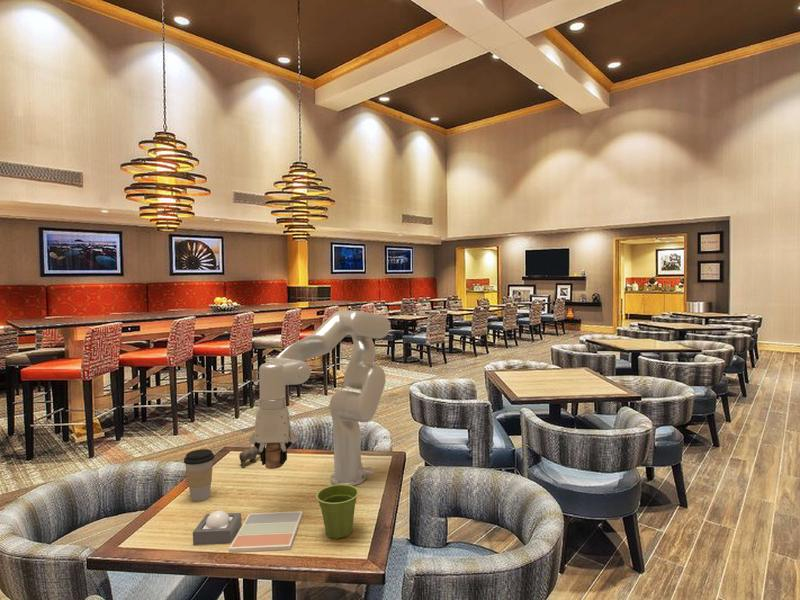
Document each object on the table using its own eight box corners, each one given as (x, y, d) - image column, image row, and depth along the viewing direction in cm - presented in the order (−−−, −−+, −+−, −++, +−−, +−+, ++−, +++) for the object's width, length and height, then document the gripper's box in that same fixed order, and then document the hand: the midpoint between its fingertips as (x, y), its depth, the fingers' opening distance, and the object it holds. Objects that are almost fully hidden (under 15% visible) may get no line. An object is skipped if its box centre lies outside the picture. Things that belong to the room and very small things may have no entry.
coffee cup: (186, 507, 150) (184, 460, 149) (184, 495, 158) (182, 451, 158) (217, 500, 154) (215, 454, 154) (214, 489, 163) (212, 446, 162)
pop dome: (233, 527, 136) (232, 505, 136) (226, 539, 130) (225, 516, 130) (210, 528, 136) (210, 506, 136) (202, 540, 130) (201, 517, 129)
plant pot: (321, 522, 138) (320, 484, 138) (362, 521, 138) (361, 483, 137) (313, 544, 126) (311, 503, 126) (357, 544, 126) (356, 502, 126)
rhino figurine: (268, 456, 194) (267, 441, 193) (244, 468, 181) (244, 453, 181) (260, 455, 195) (259, 440, 195) (236, 467, 183) (235, 451, 182)
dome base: (241, 524, 138) (241, 512, 138) (230, 543, 128) (230, 530, 128) (206, 526, 138) (206, 514, 138) (193, 544, 128) (192, 532, 128)
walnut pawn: (284, 462, 146) (283, 435, 146) (280, 468, 141) (279, 440, 141) (267, 463, 146) (267, 436, 146) (263, 469, 141) (262, 441, 141)
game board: (302, 514, 143) (302, 510, 143) (290, 549, 124) (290, 545, 124) (249, 516, 143) (249, 513, 143) (228, 552, 124) (228, 548, 124)
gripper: (240, 407, 139) (241, 468, 139) (298, 406, 139) (299, 467, 140) (248, 401, 147) (249, 459, 147) (303, 400, 147) (304, 458, 147)
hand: (273, 462), depth 143 cm, fingers closed on walnut pawn, 4 cm apart
